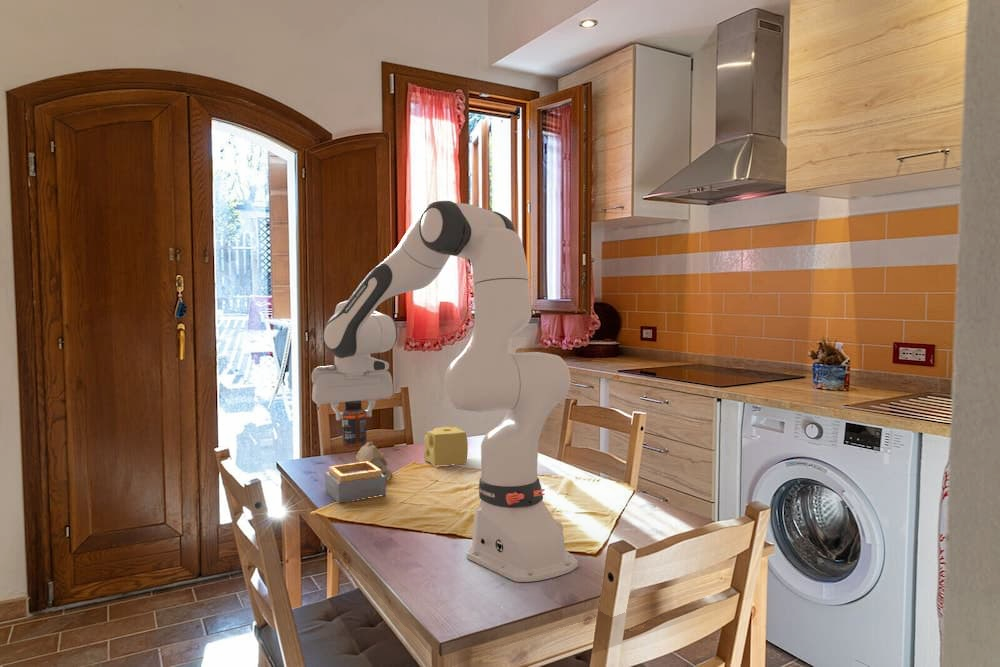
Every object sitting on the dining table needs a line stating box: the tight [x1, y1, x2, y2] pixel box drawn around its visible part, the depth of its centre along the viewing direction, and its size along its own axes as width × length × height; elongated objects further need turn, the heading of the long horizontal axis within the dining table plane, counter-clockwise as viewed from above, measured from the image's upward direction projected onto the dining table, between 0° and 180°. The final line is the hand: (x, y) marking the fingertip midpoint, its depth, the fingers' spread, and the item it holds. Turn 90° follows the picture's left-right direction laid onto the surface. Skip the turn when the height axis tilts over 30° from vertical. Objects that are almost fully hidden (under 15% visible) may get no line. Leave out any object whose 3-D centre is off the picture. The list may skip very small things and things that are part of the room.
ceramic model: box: [355, 440, 393, 479], centre depth 182 cm, size 14×11×10 cm
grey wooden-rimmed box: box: [324, 461, 387, 504], centre depth 167 cm, size 12×12×6 cm
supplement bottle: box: [341, 400, 367, 448], centre depth 166 cm, size 6×6×11 cm
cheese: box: [423, 426, 469, 466], centre depth 197 cm, size 10×11×10 cm
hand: (353, 418), depth 166 cm, fingers closed on supplement bottle, 6 cm apart
